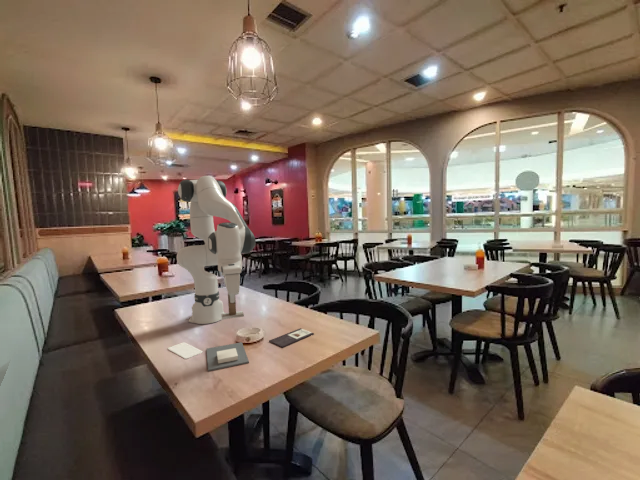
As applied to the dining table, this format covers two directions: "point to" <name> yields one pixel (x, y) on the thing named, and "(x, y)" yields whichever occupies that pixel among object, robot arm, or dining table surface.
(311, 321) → the dining table surface
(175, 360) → the dining table surface
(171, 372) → the dining table surface
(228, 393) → the dining table surface
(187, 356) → the white flat slab
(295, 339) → the chocolate bar
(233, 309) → the stamp
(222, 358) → the tile
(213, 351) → the mat
